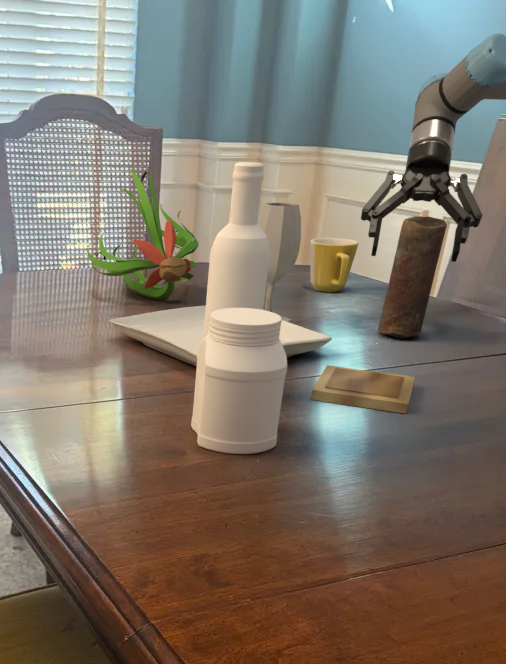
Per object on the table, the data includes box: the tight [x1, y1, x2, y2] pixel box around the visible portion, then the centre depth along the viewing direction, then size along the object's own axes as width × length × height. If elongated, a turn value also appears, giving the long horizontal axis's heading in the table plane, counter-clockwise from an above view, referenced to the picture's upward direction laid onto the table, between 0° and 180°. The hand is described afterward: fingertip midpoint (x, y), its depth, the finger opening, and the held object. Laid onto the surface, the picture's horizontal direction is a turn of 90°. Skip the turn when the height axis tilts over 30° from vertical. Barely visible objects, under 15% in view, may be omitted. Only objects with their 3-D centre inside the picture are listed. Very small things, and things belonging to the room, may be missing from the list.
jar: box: [190, 308, 288, 455], centre depth 93 cm, size 12×10×15 cm
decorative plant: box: [86, 168, 199, 301], centre depth 160 cm, size 26×25×30 cm
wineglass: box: [257, 201, 302, 323], centre depth 142 cm, size 9×9×21 cm
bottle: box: [203, 161, 270, 339], centre depth 103 cm, size 8×8×30 cm
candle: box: [377, 215, 448, 339], centre depth 136 cm, size 8×7×20 cm
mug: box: [309, 237, 359, 293], centre depth 170 cm, size 14×10×10 cm
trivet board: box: [310, 364, 416, 415], centre depth 112 cm, size 13×13×2 cm
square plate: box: [108, 305, 333, 367], centre depth 131 cm, size 27×27×4 cm
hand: (414, 254), depth 136 cm, fingers open, 13 cm apart
